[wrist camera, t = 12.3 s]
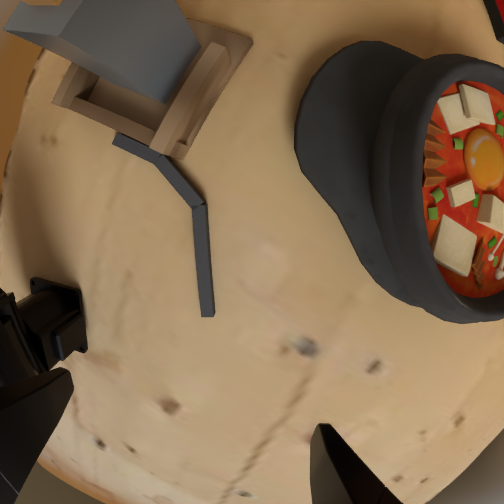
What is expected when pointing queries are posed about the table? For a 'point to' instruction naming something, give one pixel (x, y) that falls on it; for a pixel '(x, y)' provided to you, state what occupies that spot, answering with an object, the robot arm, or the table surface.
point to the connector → (114, 39)
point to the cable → (198, 215)
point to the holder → (151, 111)
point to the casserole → (413, 172)
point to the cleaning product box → (496, 17)
